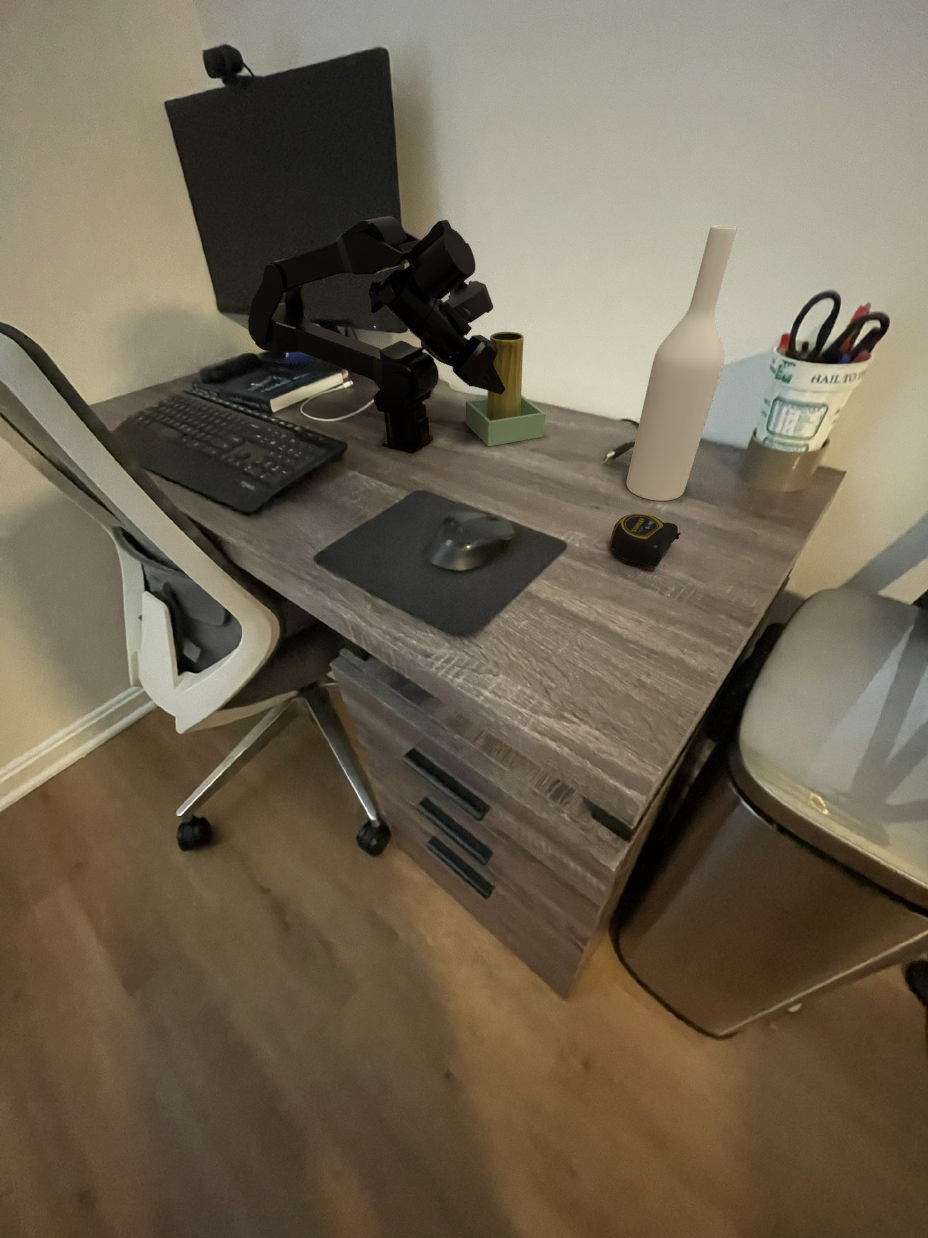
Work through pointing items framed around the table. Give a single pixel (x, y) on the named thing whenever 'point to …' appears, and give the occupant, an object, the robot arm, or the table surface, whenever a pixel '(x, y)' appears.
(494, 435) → the green open-top tray
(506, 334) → the vase
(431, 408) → the table surface
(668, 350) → the bottle
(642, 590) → the table surface
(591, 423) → the table surface
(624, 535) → the tape measure
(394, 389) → the robot arm
